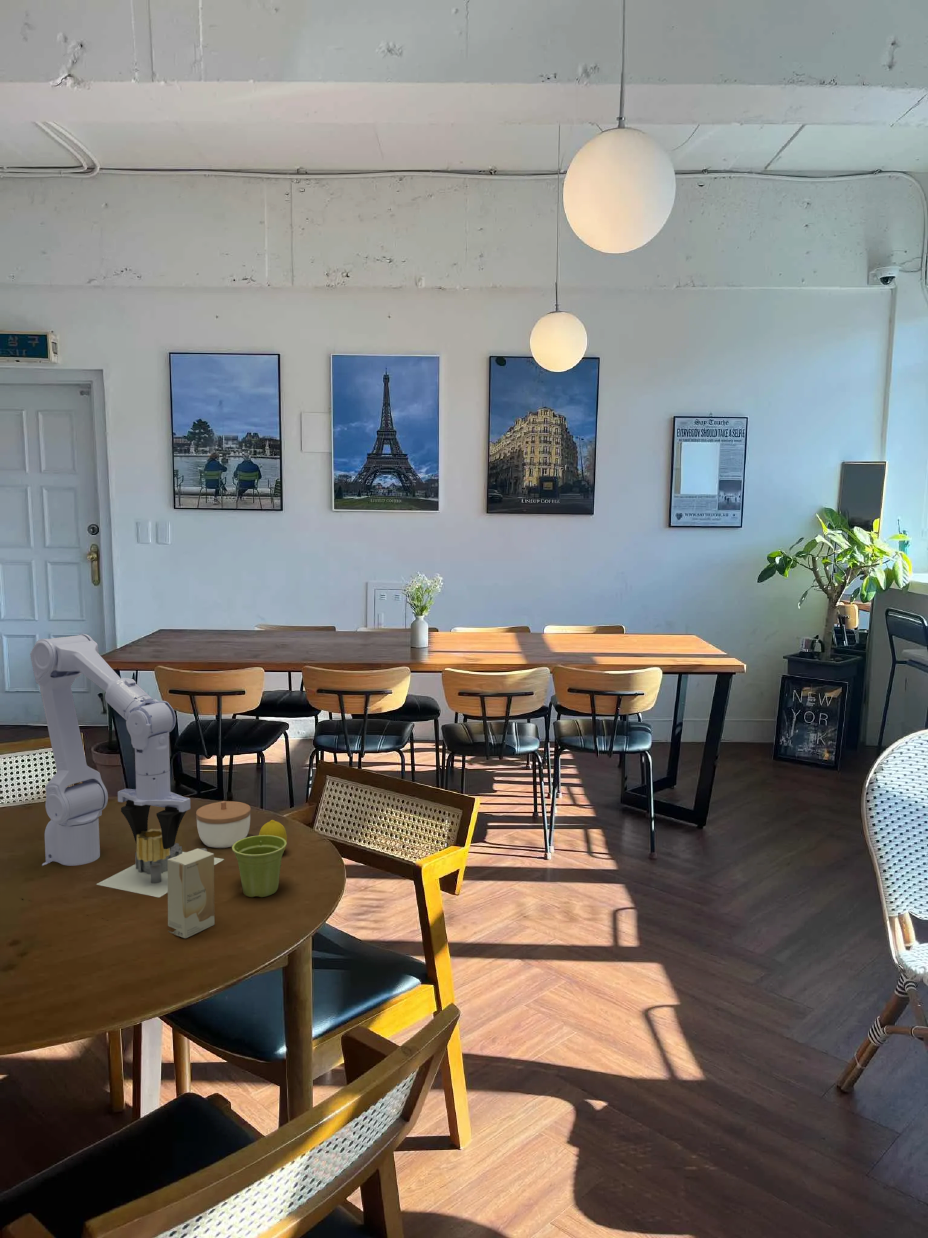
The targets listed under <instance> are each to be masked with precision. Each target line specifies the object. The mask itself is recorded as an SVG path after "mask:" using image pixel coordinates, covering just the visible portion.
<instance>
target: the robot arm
mask: <svg viewBox="0 0 928 1238" xmlns="http://www.w3.org/2000/svg"><path fill="white" fill-rule="evenodd" d="M99 653H100V652H99V645H98V643H97V642H96V641H94V639H93V638H92V637H91V636H90V635H88V634H86V633H80V634H78V635H71V636H62V637H61V636H60V637H55V638H52V637H51V638H40V639H38V640H37V641H35V644H34V646H33V647H32V649H31V651H30V654H29V655H30V660H31V665H32V670H33V674H34V680H35V683H36V684H37V685H38V686H39V691H40V694H41V700H42V704H43V705H42V706H43V710H44V715H45V719H46V726H47V730H48V735H49V740H50V744H51V745H50V746H51V749H52V754H53V759H54V765H55V769H56V772H55V774H54V775H53V777H52V778H51V779H50V780H49V781H48V782H47V784H46V785H45V787H44V788H45V796H46V797H45V798H46V799H45V806H44V807H45V811H46V814H47V816H48V818H49V819H50V821H48V823H47V824H46V827H45V830H44V852H45V862H43V863H42V864H41V866H42V867H43V866H45V865H48V864H50V863H51V862H54V863H55V862H56V863H59V864H61V865H63V866H71V867H72V866H81V865H86V864H91V863H93V862H95V861H97V860H98V859H99V858H100V856H101V848H100V844H101V843H100V824H99V823H100V819H99V817H100V816H102V815H103V814H102V813H103V812H102V811H103V810H104V809H105V808H106V807H107V805H108V800H109V794H108V790H107V788H106V785H105V784H104V781H103V780H102V777H101V773H100V771H98V770H96V769H94V768H92V767H91V766H88V764H87V758H86V755H85V754H86V753H85V749H84V744H83V740H82V734H81V730H80V725H79V721H78V715H77V711H76V705H75V702H74V696H73V690H72V686H73V683H74V682H75V681H76V679H77V678H80V677H81V676H82V675H83V676H85V677H86V678H87V679H88V680H90V681H91V682H93V683H94V684H95V685H96V686H98V687H99V688H100V689H101V690H103V692H105V695H104V700H105V702H106V703H107V704H108V705H109V706H110V707H111V708H113V710H114V711H116V713H118V714H119V716H121V717H122V718H123V719H124V720H125V725H126V730H127V732H128V734H129V735H130V739H131V741H130V742H131V743H130V744H131V745H132V748H133V749H134V760H135V761H134V763H135V766H134V767H135V769H134V770H135V788H133V789H132V788H124V789H123V788H122V789H121V790H119V791H117V802H118V803H125V805H124V806H121V807H120V812H121V814H122V815H123V816H124V817H125V819H126V821H127V823H128V825H129V827H130V830H131V832H132V833H131V834H132V835H133V839H134V841H135V844H136V845H137V834H141V831H147V830H149V829H148V825H149V824H148V823H149V822H148V821H149V815H150V808H151V806H152V807H157V808H158V807H159V808H164V809H163V810H161V811H158V812H157V813H156V814H155V815H156V818H157V820H158V823H159V825H160V829H161V831H162V844H163V848H164V849H169V848H171V847H173V846H174V844H175V843H176V839H177V836H178V831H179V828H180V824H181V823H182V820H183V818H184V816H185V814H186V813H187V811H189V810H191V798H189V797H186V796H182V795H181V794H177V793H175V792H172V791H171V764H170V762H171V761H170V758H171V757H170V733H171V732H172V731H173V730H174V728H175V726H176V723H177V717H176V713H175V710H174V707H172V706H171V704H170V703H169V702H168V701H166V700H158V699H156V698H155V699H154V698H153V697H152V696H150V695H149V694H148V693H147V692H146V691H144V689H143V688H141V686H139V685H138V684H137V681H135V679H133V678H129V677H120V675H118V674H117V673H116V671H115V670H114V668H112V667H111V666H110V665H109V664H108V662H107V661H106V660H105V659H104V657H102V656H101V655H100V654H99ZM77 783H78V784H77Z"/></svg>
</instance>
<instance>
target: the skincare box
mask: <svg viewBox="0 0 928 1238" xmlns="http://www.w3.org/2000/svg"><path fill="white" fill-rule="evenodd" d="M185 852H186V853H183V854H180V855H178V856H176V857H173V858H170V859H168V893H167V927H169V928H171V929H174V931H171V930H167V932H168V933H171V934H173V935H175V936H177V937H181V938H182V939H187V938H189V937H192V936H194V935H196V934H198V933H201V932H202V931H205V930H206V929H208V928H210V927H212V926H215V865H214V857H215V853H214V852H211V851H208V850H207V851H204V850H201V848H194V849H192V850H189V851H185Z"/></svg>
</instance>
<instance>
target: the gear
mask: <svg viewBox="0 0 928 1238" xmlns="http://www.w3.org/2000/svg"><path fill="white" fill-rule="evenodd" d="M182 852H183V846H182V845H181V846H180V843H178V842H175V844H174V846H173V847H171V848H170V855H169V856H166V859H160V860H157V861H155V862H154V861H147V862H144V860H142V859H141V860H138V859H137V851H136V852H135V853H134V855H135V856H134V857H135V864H136V869H138V872H140V873H142V872H146V873H147V874H151V871H150V866H151V865H152V864H156V863H159V864H161V873H163V872H166V871H168V859H170V858H173V857H176V856H178V855H180V854H182Z"/></svg>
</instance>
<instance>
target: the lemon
mask: <svg viewBox="0 0 928 1238" xmlns="http://www.w3.org/2000/svg"><path fill="white" fill-rule="evenodd" d="M258 835H273V836H278V837H281V838H283V839H284V840H286V847H287V844H288V834H287V830H286V828H285V826H284V825H283V824H282V823H280V821H276V820H274V819H271V820H270V821H267V822H266V823H264V824H263V825H262V826H261V828H260V830H259V833H258ZM286 847H285V848H284V851H285V850H286Z"/></svg>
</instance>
